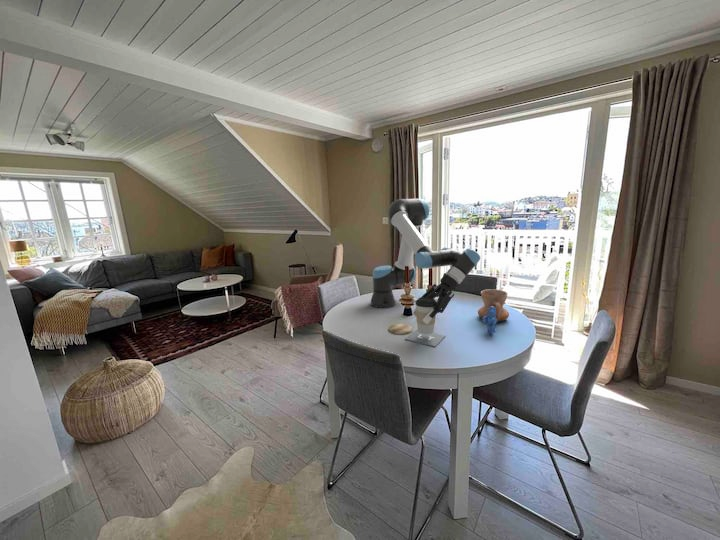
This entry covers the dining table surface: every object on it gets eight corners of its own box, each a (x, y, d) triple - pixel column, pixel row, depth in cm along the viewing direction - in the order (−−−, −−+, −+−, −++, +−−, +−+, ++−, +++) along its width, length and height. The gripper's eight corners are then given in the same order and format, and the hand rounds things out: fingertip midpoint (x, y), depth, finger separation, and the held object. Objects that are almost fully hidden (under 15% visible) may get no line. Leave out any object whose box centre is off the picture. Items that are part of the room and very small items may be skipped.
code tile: (404, 339, 129) (404, 338, 129) (416, 330, 139) (416, 329, 139) (435, 347, 121) (435, 346, 121) (445, 336, 131) (445, 335, 131)
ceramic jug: (475, 312, 160) (476, 287, 157) (504, 313, 156) (505, 287, 154) (480, 325, 143) (481, 297, 140) (513, 326, 139) (514, 298, 136)
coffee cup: (419, 325, 135) (419, 294, 132) (438, 329, 131) (439, 296, 128) (412, 332, 128) (412, 299, 125) (432, 336, 123) (433, 302, 120)
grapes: (481, 326, 141) (482, 302, 138) (496, 328, 138) (498, 303, 136) (480, 336, 130) (482, 310, 128) (497, 338, 128) (499, 311, 125)
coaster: (384, 331, 139) (384, 329, 139) (395, 323, 148) (395, 322, 148) (405, 336, 133) (405, 334, 133) (415, 328, 142) (415, 326, 142)
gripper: (473, 290, 119) (437, 332, 118) (443, 279, 140) (413, 315, 139) (462, 279, 117) (426, 322, 116) (434, 269, 137) (403, 305, 136)
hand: (419, 318), depth 127 cm, fingers closed on coffee cup, 9 cm apart
